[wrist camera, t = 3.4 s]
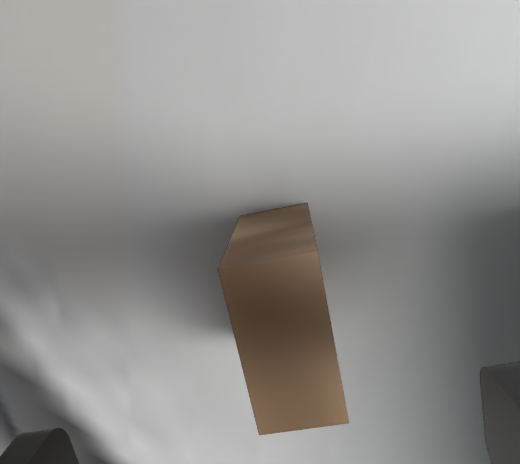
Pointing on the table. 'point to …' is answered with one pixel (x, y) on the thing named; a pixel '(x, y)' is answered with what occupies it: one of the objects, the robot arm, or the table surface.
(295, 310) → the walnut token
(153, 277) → the table surface
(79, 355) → the table surface
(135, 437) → the table surface
